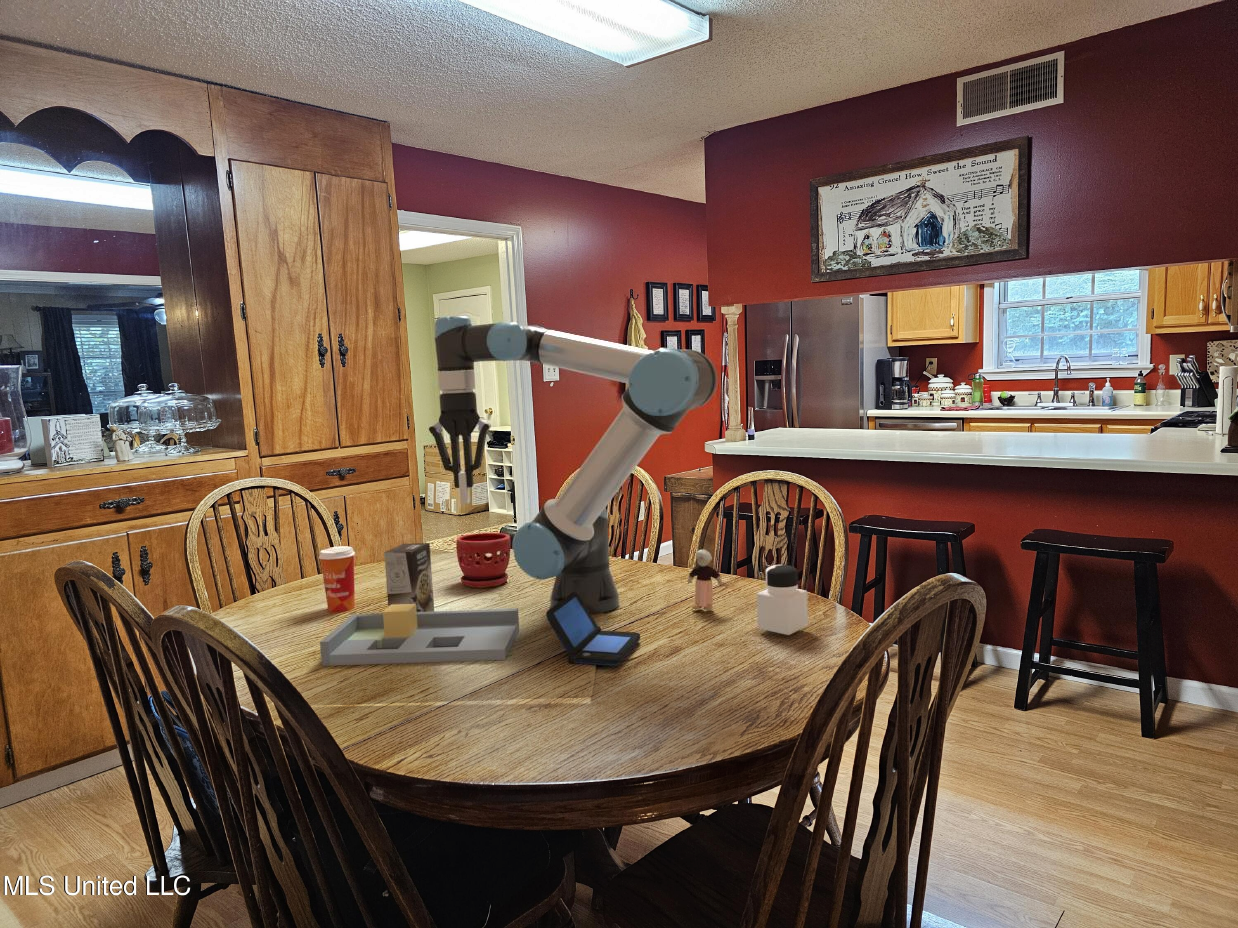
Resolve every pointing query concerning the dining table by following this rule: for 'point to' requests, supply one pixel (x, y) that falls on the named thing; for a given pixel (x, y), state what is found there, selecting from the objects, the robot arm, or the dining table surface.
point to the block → (400, 620)
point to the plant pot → (483, 559)
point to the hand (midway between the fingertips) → (465, 502)
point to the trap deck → (423, 638)
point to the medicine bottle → (782, 602)
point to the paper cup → (338, 578)
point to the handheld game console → (588, 634)
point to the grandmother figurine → (704, 581)
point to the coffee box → (410, 576)
